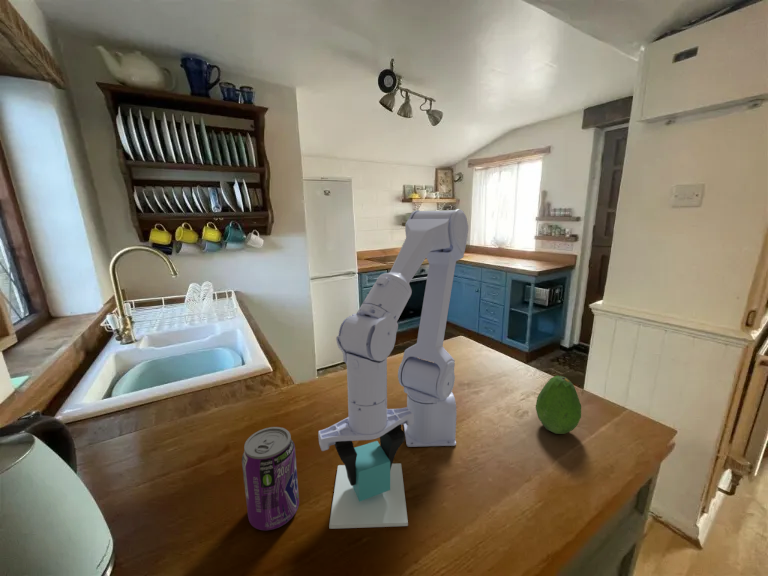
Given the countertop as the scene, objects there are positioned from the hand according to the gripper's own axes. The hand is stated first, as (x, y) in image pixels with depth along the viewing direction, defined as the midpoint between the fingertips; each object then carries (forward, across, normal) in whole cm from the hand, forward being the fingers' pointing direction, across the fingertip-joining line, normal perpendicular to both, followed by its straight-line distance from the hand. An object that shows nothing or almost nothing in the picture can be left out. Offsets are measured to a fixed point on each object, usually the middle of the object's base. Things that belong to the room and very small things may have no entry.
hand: (368, 474), depth 49 cm
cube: (+2, 0, 0) cm, 2 cm away
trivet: (+4, 0, 0) cm, 4 cm away
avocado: (+4, -40, +1) cm, 41 cm away
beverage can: (+4, +14, -3) cm, 15 cm away
